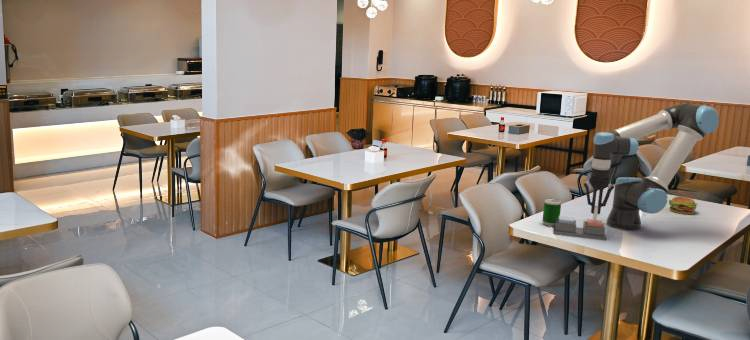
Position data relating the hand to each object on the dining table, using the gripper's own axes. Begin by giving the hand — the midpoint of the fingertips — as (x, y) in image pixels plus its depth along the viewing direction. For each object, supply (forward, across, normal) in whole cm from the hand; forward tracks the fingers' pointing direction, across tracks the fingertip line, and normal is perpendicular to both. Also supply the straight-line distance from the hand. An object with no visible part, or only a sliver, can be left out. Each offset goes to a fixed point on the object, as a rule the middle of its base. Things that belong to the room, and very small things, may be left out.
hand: (594, 220), depth 293 cm
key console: (+7, +6, 0) cm, 9 cm away
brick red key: (+3, 0, 0) cm, 3 cm away
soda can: (+7, +18, -11) cm, 22 cm away
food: (+7, -48, -68) cm, 84 cm away
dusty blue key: (+3, +12, 0) cm, 12 cm away
